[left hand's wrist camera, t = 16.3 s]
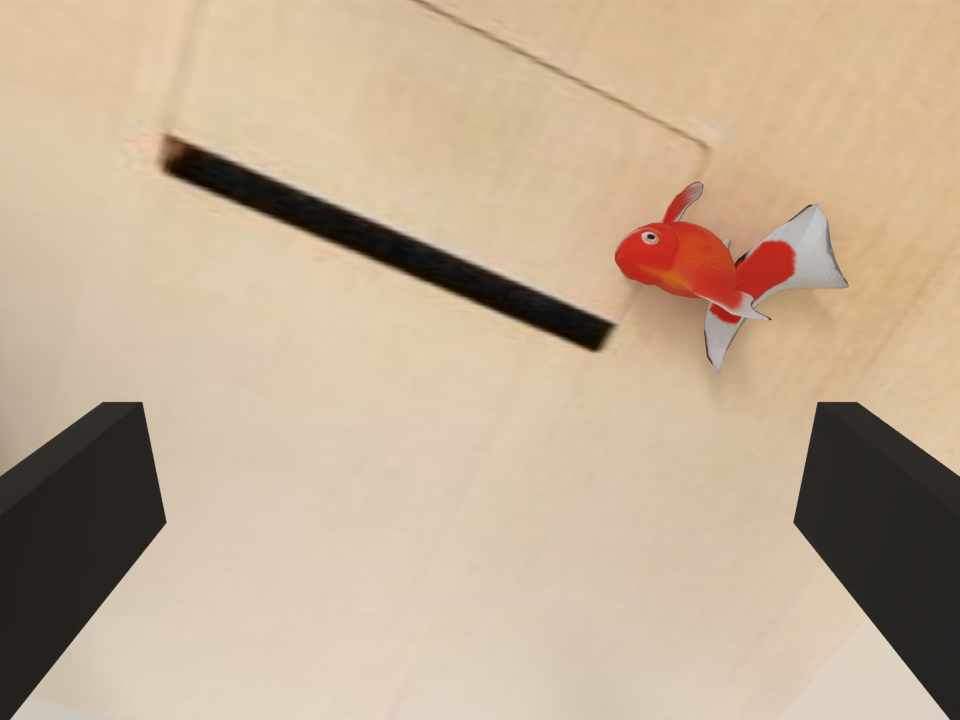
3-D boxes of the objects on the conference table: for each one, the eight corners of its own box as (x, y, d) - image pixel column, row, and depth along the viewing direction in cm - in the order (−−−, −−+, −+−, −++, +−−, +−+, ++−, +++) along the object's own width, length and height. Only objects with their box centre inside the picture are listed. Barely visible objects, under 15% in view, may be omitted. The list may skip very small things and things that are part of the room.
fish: (690, 91, 35) (778, 199, 29) (831, 199, 43) (923, 301, 37) (565, 231, 41) (615, 346, 35) (711, 302, 49) (772, 404, 43)
